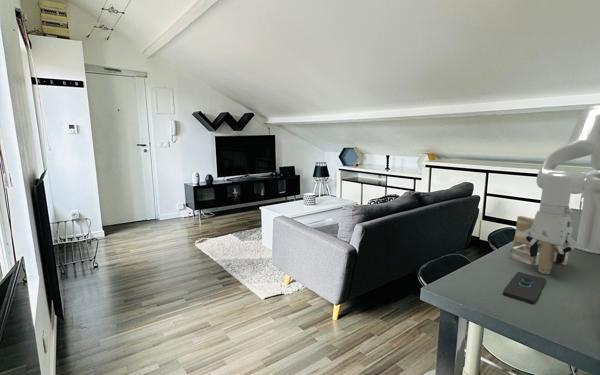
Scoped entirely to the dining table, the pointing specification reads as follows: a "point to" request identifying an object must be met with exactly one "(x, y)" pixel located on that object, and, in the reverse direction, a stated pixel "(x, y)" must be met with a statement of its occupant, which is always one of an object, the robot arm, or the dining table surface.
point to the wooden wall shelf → (523, 247)
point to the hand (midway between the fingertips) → (545, 259)
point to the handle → (546, 256)
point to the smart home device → (525, 287)
